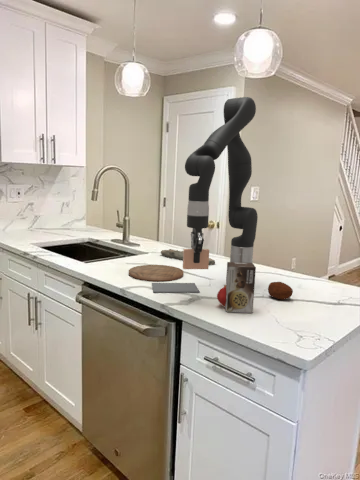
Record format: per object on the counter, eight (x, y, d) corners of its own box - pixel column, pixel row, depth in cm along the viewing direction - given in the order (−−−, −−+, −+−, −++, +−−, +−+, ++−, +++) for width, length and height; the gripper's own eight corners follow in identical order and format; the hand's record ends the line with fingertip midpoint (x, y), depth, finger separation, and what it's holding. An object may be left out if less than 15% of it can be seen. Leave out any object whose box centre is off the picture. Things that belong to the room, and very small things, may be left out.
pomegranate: (222, 302, 139) (224, 281, 138) (236, 306, 135) (238, 285, 134) (213, 306, 135) (214, 284, 133) (226, 310, 131) (228, 288, 130)
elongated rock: (208, 269, 195) (218, 267, 203) (209, 259, 194) (219, 257, 202) (155, 255, 215) (166, 253, 223) (156, 246, 214) (167, 244, 222)
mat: (194, 284, 161) (194, 282, 161) (199, 292, 150) (199, 291, 150) (151, 284, 159) (151, 282, 159) (153, 293, 147) (153, 291, 147)
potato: (275, 293, 153) (277, 278, 152) (295, 300, 146) (297, 284, 145) (264, 296, 149) (265, 280, 147) (284, 303, 141) (285, 286, 140)
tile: (207, 267, 139) (208, 249, 138) (208, 269, 137) (209, 250, 136) (182, 267, 138) (183, 248, 137) (183, 269, 136) (184, 249, 135)
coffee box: (249, 306, 136) (253, 262, 133) (252, 313, 129) (256, 267, 127) (223, 305, 136) (227, 261, 133) (225, 312, 129) (229, 265, 127)
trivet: (177, 284, 161) (177, 280, 160) (120, 279, 165) (120, 275, 165) (187, 270, 185) (188, 267, 185) (138, 266, 190) (138, 263, 189)
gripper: (212, 216, 128) (210, 266, 131) (204, 212, 141) (202, 258, 144) (190, 215, 127) (188, 266, 130) (184, 211, 140) (182, 257, 143)
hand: (195, 261), depth 137 cm, fingers closed on tile, 1 cm apart
